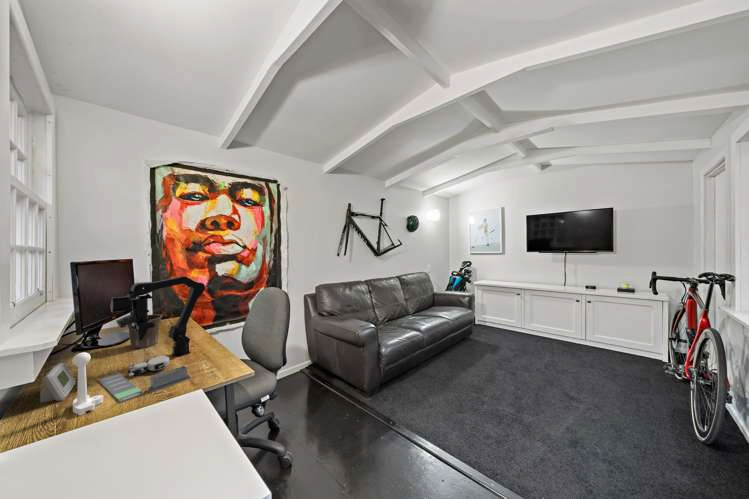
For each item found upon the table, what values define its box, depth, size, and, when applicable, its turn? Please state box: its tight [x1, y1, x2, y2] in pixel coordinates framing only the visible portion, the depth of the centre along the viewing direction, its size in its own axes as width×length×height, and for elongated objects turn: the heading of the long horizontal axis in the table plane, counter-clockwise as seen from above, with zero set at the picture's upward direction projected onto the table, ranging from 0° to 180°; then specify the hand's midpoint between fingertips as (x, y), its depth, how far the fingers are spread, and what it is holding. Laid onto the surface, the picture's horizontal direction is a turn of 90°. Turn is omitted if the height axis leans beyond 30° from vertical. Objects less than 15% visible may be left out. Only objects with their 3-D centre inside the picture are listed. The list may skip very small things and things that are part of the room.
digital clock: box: [39, 362, 76, 403], centre depth 107 cm, size 16×9×11 cm, turn 26°
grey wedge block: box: [147, 365, 191, 393], centre depth 115 cm, size 14×4×5 cm, turn 147°
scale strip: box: [97, 372, 145, 404], centre depth 112 cm, size 7×31×1 cm, turn 57°
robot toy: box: [127, 354, 170, 377], centre depth 127 cm, size 12×4×15 cm
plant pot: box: [127, 314, 163, 349], centre depth 160 cm, size 16×16×16 cm
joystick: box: [72, 352, 104, 416], centre depth 99 cm, size 11×8×20 cm
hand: (140, 340), depth 133 cm, fingers closed
